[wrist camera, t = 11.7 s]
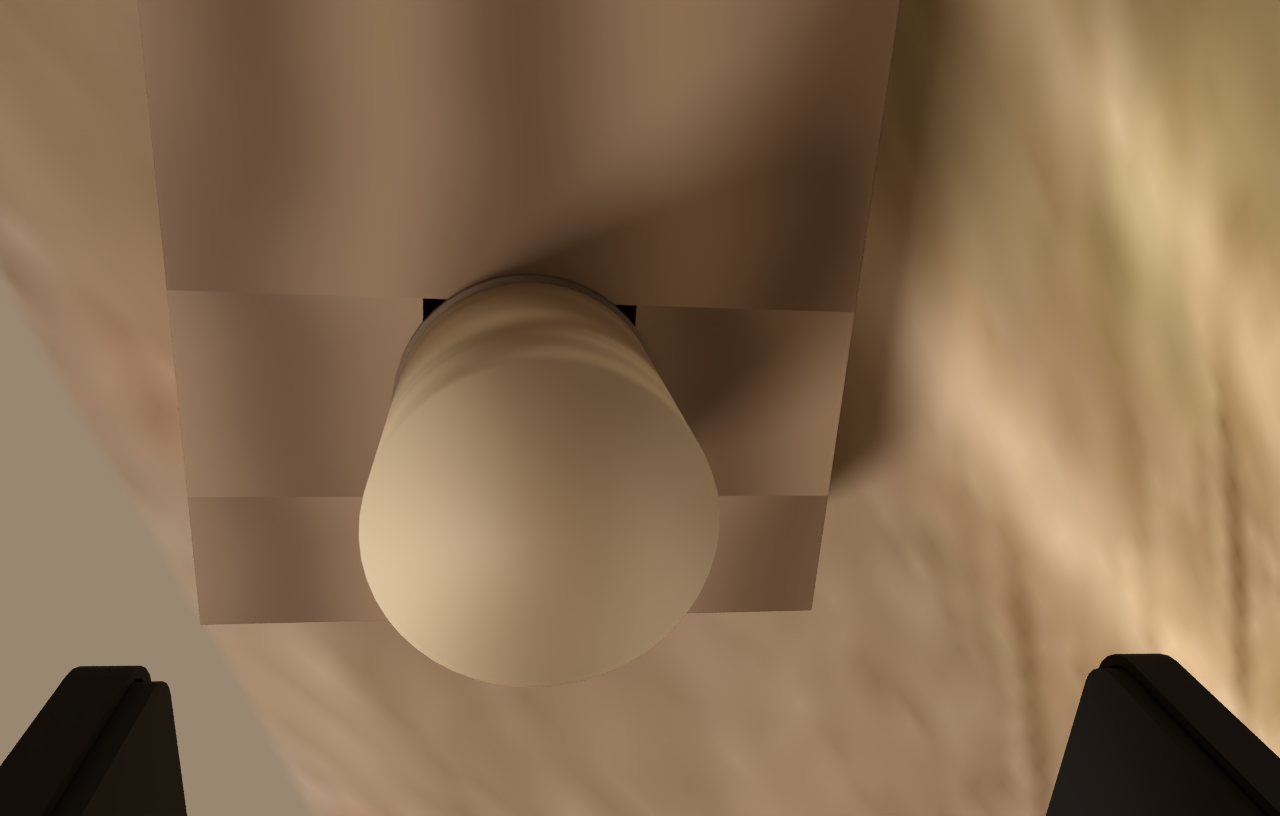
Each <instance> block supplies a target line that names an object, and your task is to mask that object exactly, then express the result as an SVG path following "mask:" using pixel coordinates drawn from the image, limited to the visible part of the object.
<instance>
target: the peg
mask: <svg viewBox="0 0 1280 816" xmlns="http://www.w3.org/2000/svg"><path fill="white" fill-rule="evenodd" d="M719 520H720V511H719V502H718V493H717V489H716V485H715V481H714V477H713V473H712V471H711V468H710V466H709V464H708V461H707V459H706V456H705V454H704V452H703V450H702V449H701V447H700V445H699V443H698V442H697V440H696V438H695V436H694V435H693V433H692V431H691V430H690V428H689V426H688V424H687V423H686V421H685V419H684V417H683V416H682V414H681V412H680V410H679V409H678V407H677V405H676V403H675V402H674V400H673V398H672V397H671V395H670V393H669V391H668V390H667V388H666V386H665V384H664V383H663V381H662V379H661V377H660V376H659V374H658V372H657V368H656V365H655V362H654V360H653V357H652V355H651V353H650V350H649V348H648V347H647V345H646V343H645V342H644V340H643V338H642V337H641V335H640V333H639V332H638V330H637V328H636V327H635V326H634V325H633V323H632V322H631V321H630V320H629V318H628V317H627V316H626V315H625V314H624V313H623V312H622V311H621V310H620V309H619V308H618V307H617V306H615V305H614V304H613V303H612V302H610V301H609V300H608V299H606V298H605V297H603V296H602V295H601V294H599V293H597V292H595V291H593V290H592V289H590V288H588V287H586V286H584V285H581V284H578V283H576V282H573V281H571V280H568V279H563V278H559V277H555V276H551V275H541V274H512V275H506V276H500V277H495V278H492V279H488V280H485V281H481V282H478V283H476V284H474V285H472V286H469V287H467V288H465V289H463V290H461V291H459V292H458V293H456V294H454V295H453V296H451V297H449V298H448V299H446V300H445V301H444V302H443V303H442V304H440V305H439V306H438V307H437V308H435V309H434V310H433V311H432V312H431V313H430V314H429V315H428V316H427V317H426V319H425V320H424V321H423V322H422V323H421V324H420V326H419V327H418V328H417V330H416V331H415V333H414V334H413V335H412V337H411V339H410V341H409V343H408V345H407V346H406V348H405V350H404V352H403V355H402V358H401V361H400V364H399V367H398V369H397V372H396V376H395V381H394V386H393V391H392V404H391V407H390V410H389V413H388V417H387V420H386V423H385V426H384V430H383V433H382V436H381V439H380V442H379V446H378V449H377V452H376V455H375V459H374V462H373V465H372V468H371V472H370V475H369V478H368V481H367V484H366V488H365V491H364V495H363V500H362V505H361V510H360V515H359V545H360V554H361V561H362V564H363V568H364V572H365V576H366V579H367V582H368V584H369V586H370V589H371V591H372V593H373V596H374V598H375V600H376V602H377V603H378V605H379V606H380V608H381V610H382V611H383V613H384V614H385V616H386V618H387V619H388V620H389V621H390V622H391V624H392V625H393V626H394V627H395V628H396V630H397V631H398V632H399V633H400V634H401V635H402V636H403V637H404V638H405V639H406V640H407V641H408V642H409V643H411V644H412V645H413V646H414V647H415V648H416V649H418V650H419V651H420V652H422V653H423V654H425V655H426V656H428V657H429V658H430V659H432V660H433V661H435V662H437V663H439V664H441V665H443V666H445V667H446V668H448V669H450V670H452V671H454V672H457V673H460V674H462V675H465V676H468V677H470V678H473V679H477V680H481V681H485V682H489V683H493V684H498V685H506V686H514V687H548V686H559V685H565V684H570V683H575V682H580V681H584V680H587V679H590V678H593V677H597V676H600V675H603V674H605V673H608V672H610V671H612V670H614V669H617V668H619V667H621V666H623V665H625V664H627V663H629V662H630V661H632V660H634V659H635V658H637V657H639V656H641V655H642V654H644V653H645V652H646V651H648V650H649V649H650V648H652V647H653V646H654V645H656V644H657V643H658V642H660V641H661V640H662V639H663V638H664V637H665V636H666V635H667V634H668V633H669V632H670V631H671V630H672V629H673V628H675V627H676V625H677V624H678V623H679V622H680V621H681V619H682V618H683V617H684V616H685V615H686V613H687V612H688V611H689V610H690V608H691V606H692V605H693V603H694V602H695V600H696V599H697V597H698V595H699V594H700V592H701V590H702V588H703V586H704V584H705V582H706V580H707V577H708V575H709V573H710V570H711V567H712V563H713V560H714V557H715V554H716V548H717V543H718V537H719Z"/></svg>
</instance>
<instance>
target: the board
mask: <svg viewBox="0 0 1280 816" xmlns="http://www.w3.org/2000/svg"><path fill="white" fill-rule="evenodd" d="M899 4H900V0H138V7H139V17H140V27H141V37H142V47H143V57H144V67H145V77H146V87H147V97H148V107H149V117H150V127H151V137H152V147H153V157H154V167H155V177H156V186H157V196H158V206H159V216H160V226H161V236H162V246H163V256H164V266H165V276H166V286H167V296H168V306H169V316H170V326H171V336H172V346H173V356H174V366H175V375H176V385H177V395H178V405H179V415H180V425H181V435H182V445H183V455H184V465H185V475H186V485H187V495H188V505H189V515H190V525H191V535H192V545H193V555H194V565H195V574H196V584H197V594H198V604H199V614H200V624H201V625H211V624H253V623H295V622H337V621H380V620H388V619H387V618H386V616H385V614H384V613H383V611H382V610H381V608H380V606H379V605H378V603H377V602H376V600H375V598H374V596H373V593H372V591H371V589H370V586H369V584H368V582H367V579H366V576H365V572H364V568H363V564H362V561H361V554H360V545H359V515H360V510H361V505H362V500H363V495H364V491H365V488H366V484H367V481H368V478H369V475H370V472H371V468H372V465H373V462H374V459H375V455H376V452H377V449H378V446H379V442H380V439H381V436H382V433H383V430H384V426H385V423H386V420H387V417H388V413H389V410H390V407H391V404H392V391H393V386H394V381H395V376H396V372H397V369H398V367H399V364H400V361H401V358H402V355H403V352H404V350H405V348H406V346H407V345H408V343H409V341H410V339H411V337H412V335H413V334H414V333H415V331H416V330H417V328H418V327H419V326H420V324H421V323H422V322H423V321H424V320H425V319H426V317H427V316H428V315H429V314H430V313H431V312H432V311H433V310H434V309H435V299H448V298H449V297H451V296H453V295H454V294H456V293H458V292H459V291H461V290H463V289H465V288H467V287H469V286H472V285H474V284H476V283H478V282H481V281H485V280H488V279H492V278H495V277H500V276H506V275H512V274H541V275H551V276H555V277H559V278H563V279H568V280H571V281H573V282H576V283H578V284H581V285H584V286H586V287H588V288H590V289H592V290H593V291H595V292H597V293H599V294H601V295H602V296H603V297H605V298H606V299H608V300H609V301H610V302H612V303H613V304H614V305H615V306H617V307H618V308H619V309H620V310H621V311H622V312H623V313H624V314H625V315H626V316H627V317H628V318H629V320H630V321H631V322H632V323H633V325H634V326H635V327H636V328H637V330H638V332H639V333H640V335H641V337H642V338H643V340H644V342H645V343H646V345H647V347H648V348H649V350H650V353H651V355H652V357H653V360H654V362H655V365H656V368H657V372H658V374H659V376H660V377H661V379H662V381H663V383H664V384H665V386H666V388H667V390H668V391H669V393H670V395H671V397H672V398H673V400H674V402H675V403H676V405H677V407H678V409H679V410H680V412H681V414H682V416H683V417H684V419H685V421H686V423H687V424H688V426H689V428H690V430H691V431H692V433H693V435H694V436H695V438H696V440H697V442H698V443H699V445H700V447H701V449H702V450H703V452H704V454H705V456H706V459H707V461H708V464H709V466H710V468H711V471H712V473H713V477H714V481H715V485H716V489H717V493H718V502H719V511H720V520H719V537H718V543H717V548H716V554H715V557H714V560H713V563H712V567H711V570H710V573H709V575H708V577H707V580H706V582H705V584H704V586H703V588H702V590H701V592H700V594H699V595H698V597H697V599H696V600H695V602H694V603H693V605H692V606H691V608H690V610H689V611H688V612H687V613H717V612H759V611H802V610H811V609H812V602H813V595H814V588H815V581H816V574H817V568H818V561H819V554H820V547H821V540H822V533H823V526H824V520H825V513H826V506H827V499H828V492H829V485H830V478H831V471H832V465H833V458H834V451H835V444H836V437H837V430H838V423H839V417H840V410H841V403H842V396H843V389H844V382H845V375H846V368H847V362H848V355H849V348H850V341H851V334H852V327H853V320H854V313H855V307H856V300H857V293H858V286H859V279H860V272H861V265H862V259H863V252H864V245H865V238H866V231H867V224H868V217H869V210H870V204H871V197H872V190H873V183H874V176H875V169H876V162H877V156H878V149H879V142H880V135H881V128H882V121H883V114H884V107H885V101H886V94H887V87H888V80H889V73H890V66H891V59H892V53H893V46H894V39H895V32H896V25H897V18H898V11H899Z"/></svg>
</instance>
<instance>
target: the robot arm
mask: <svg viewBox="0 0 1280 816" xmlns="http://www.w3.org/2000/svg"><path fill="white" fill-rule="evenodd" d="M0 816H187V813H186V805H185V798H184V790H183V783H182V776H181V768H180V760H179V753H178V746H177V738H176V731H175V724H174V716H173V708H172V701H171V694H170V690H169V687H168V685H167V683H165V682H163V681H159V682H158V681H157V682H151V678H150V674H149V673H148V671H147V669H146V668H145V667H142V666H80V667H77V668H74V669H72V670H71V672H69V674H68V675H67V676H66V677H65V678H64V679H63V681H62V682H61V684H60V685H59V686H58V688H57V689H56V690H55V692H54V693H53V695H52V696H51V697H50V699H49V700H48V701H47V703H46V705H45V706H44V707H43V708H42V710H41V711H40V712H39V714H38V715H37V717H36V718H35V719H34V721H33V722H32V723H31V725H30V726H29V728H28V729H27V730H26V732H25V733H24V734H23V736H22V737H21V738H20V740H19V741H18V743H17V744H16V745H15V747H14V748H13V750H12V751H11V752H10V754H9V755H8V756H7V758H6V759H5V760H4V762H3V763H2V765H1V766H0ZM1046 816H1280V758H1279V757H1278V756H1277V755H1276V754H1275V753H1274V752H1273V751H1272V750H1270V749H1269V748H1268V747H1267V746H1266V745H1265V744H1264V743H1263V742H1262V741H1261V740H1260V739H1259V738H1258V737H1257V736H1256V735H1255V734H1253V733H1252V732H1251V731H1250V730H1249V729H1248V728H1247V727H1246V726H1245V725H1244V724H1243V723H1242V722H1241V721H1240V720H1239V719H1238V718H1236V717H1235V716H1234V715H1233V714H1232V713H1231V712H1230V711H1229V710H1228V709H1227V708H1226V707H1225V706H1224V705H1223V704H1222V703H1221V702H1219V701H1218V700H1217V699H1216V698H1215V697H1214V696H1213V695H1212V694H1211V693H1210V692H1209V691H1208V690H1207V689H1206V688H1205V687H1204V686H1203V685H1201V684H1200V683H1199V682H1198V681H1197V680H1196V679H1195V678H1194V677H1193V676H1192V675H1191V674H1190V673H1189V672H1188V671H1187V670H1186V669H1184V668H1183V667H1182V666H1181V665H1180V664H1179V663H1178V662H1177V661H1176V660H1174V659H1173V658H1171V657H1170V656H1168V655H1163V654H1114V655H1110V656H1107V657H1106V658H1105V659H1104V660H1103V661H1102V662H1101V664H1100V666H1099V668H1098V669H1094V670H1093V671H1092V672H1090V673H1089V675H1088V677H1087V679H1086V682H1085V686H1084V689H1083V692H1082V696H1081V699H1080V702H1079V706H1078V709H1077V713H1076V716H1075V719H1074V723H1073V726H1072V729H1071V733H1070V736H1069V740H1068V743H1067V746H1066V750H1065V753H1064V756H1063V760H1062V763H1061V767H1060V770H1059V773H1058V777H1057V780H1056V783H1055V787H1054V790H1053V794H1052V797H1051V800H1050V804H1049V807H1048V810H1047V814H1046Z"/></svg>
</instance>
